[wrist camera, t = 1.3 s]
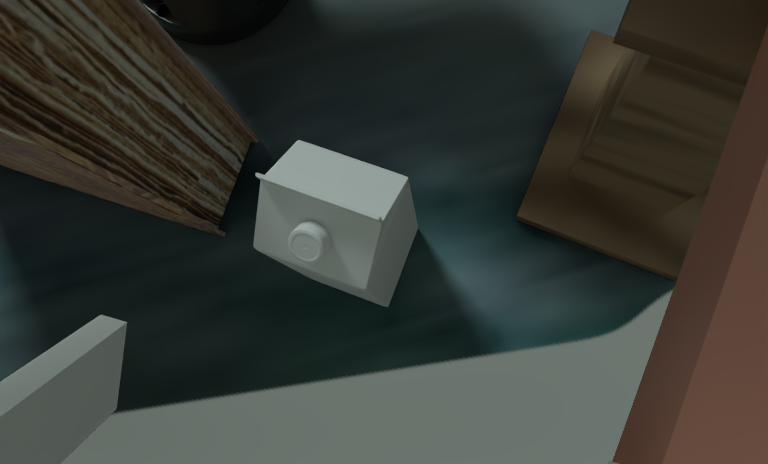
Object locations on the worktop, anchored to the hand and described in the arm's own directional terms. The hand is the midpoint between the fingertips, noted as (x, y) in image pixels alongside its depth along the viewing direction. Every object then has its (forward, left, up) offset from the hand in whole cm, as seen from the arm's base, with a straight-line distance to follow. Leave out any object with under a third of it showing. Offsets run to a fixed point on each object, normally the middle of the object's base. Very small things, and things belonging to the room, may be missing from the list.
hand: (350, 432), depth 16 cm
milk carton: (-11, -2, -33) cm, 34 cm away
